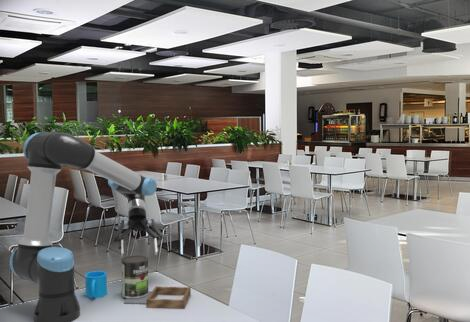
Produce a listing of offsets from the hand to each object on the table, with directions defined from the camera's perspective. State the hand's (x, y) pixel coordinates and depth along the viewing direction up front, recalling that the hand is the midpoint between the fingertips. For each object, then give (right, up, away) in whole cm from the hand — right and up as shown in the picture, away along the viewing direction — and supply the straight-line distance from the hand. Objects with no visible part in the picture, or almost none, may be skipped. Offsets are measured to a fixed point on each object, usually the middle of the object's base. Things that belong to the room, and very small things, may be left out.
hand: (139, 254), depth 187 cm
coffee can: (0, -14, -6) cm, 16 cm away
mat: (+2, -15, -9) cm, 18 cm away
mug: (-16, -15, -7) cm, 23 cm away
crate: (+14, -15, -12) cm, 24 cm away
